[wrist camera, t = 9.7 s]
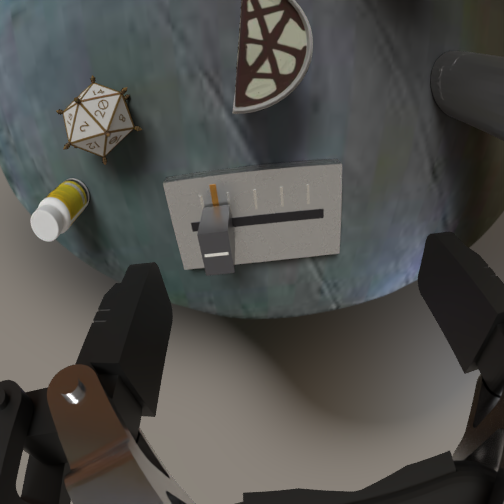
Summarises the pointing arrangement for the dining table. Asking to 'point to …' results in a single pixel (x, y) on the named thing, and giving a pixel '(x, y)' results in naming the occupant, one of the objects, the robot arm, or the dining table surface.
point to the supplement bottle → (60, 209)
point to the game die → (98, 119)
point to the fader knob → (217, 240)
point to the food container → (270, 53)
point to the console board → (262, 209)
